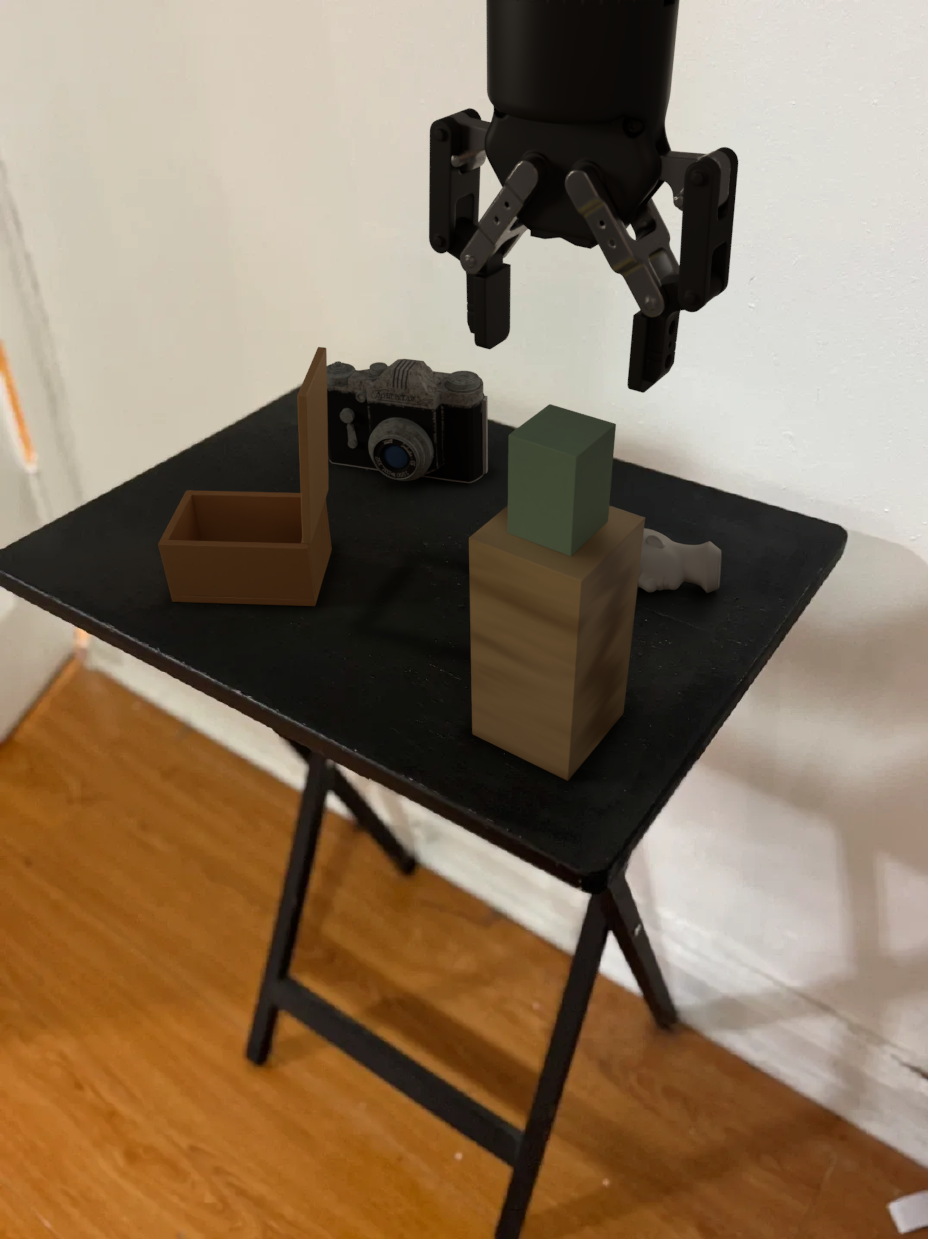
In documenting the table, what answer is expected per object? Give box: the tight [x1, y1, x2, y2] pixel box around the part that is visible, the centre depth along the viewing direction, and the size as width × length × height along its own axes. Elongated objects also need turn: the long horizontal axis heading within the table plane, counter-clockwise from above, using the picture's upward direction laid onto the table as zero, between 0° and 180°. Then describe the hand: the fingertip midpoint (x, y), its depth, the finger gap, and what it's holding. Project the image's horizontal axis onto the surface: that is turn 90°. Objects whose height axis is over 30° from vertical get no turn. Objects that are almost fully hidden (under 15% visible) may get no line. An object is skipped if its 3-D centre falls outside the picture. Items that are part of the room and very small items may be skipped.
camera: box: [327, 358, 489, 484], centre depth 86 cm, size 15×7×10 cm, turn 73°
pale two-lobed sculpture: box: [637, 527, 722, 594], centre depth 75 cm, size 4×8×5 cm
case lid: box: [296, 346, 329, 544], centre depth 71 cm, size 11×7×1 cm
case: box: [157, 489, 333, 607], centre depth 77 cm, size 11×7×5 cm
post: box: [468, 505, 646, 782], centre depth 61 cm, size 7×7×15 cm
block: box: [507, 403, 617, 556], centre depth 54 cm, size 4×4×6 cm
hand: (565, 363), depth 50 cm, fingers open, 8 cm apart
